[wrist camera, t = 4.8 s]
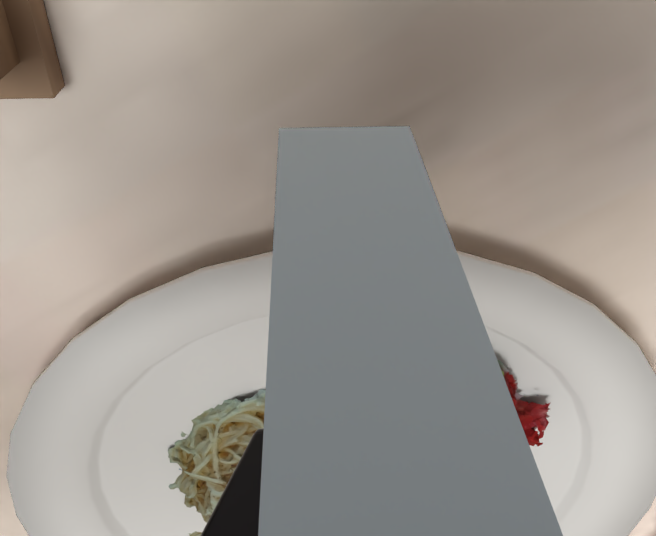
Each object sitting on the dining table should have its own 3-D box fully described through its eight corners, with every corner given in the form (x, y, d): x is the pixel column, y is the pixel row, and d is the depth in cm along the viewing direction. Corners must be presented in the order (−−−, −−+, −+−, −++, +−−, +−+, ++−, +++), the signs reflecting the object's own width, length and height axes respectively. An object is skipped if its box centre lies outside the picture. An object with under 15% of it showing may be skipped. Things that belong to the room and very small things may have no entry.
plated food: (31, 600, 36) (10, 663, 33) (5, 139, 19) (-43, 191, 16) (497, 632, 42) (512, 689, 39) (797, 295, 25) (859, 355, 22)
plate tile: (383, 424, 14) (464, 976, 7) (293, 427, 13) (291, 987, 7) (409, 125, 9) (663, 797, 3) (278, 127, 9) (244, 821, 3)
